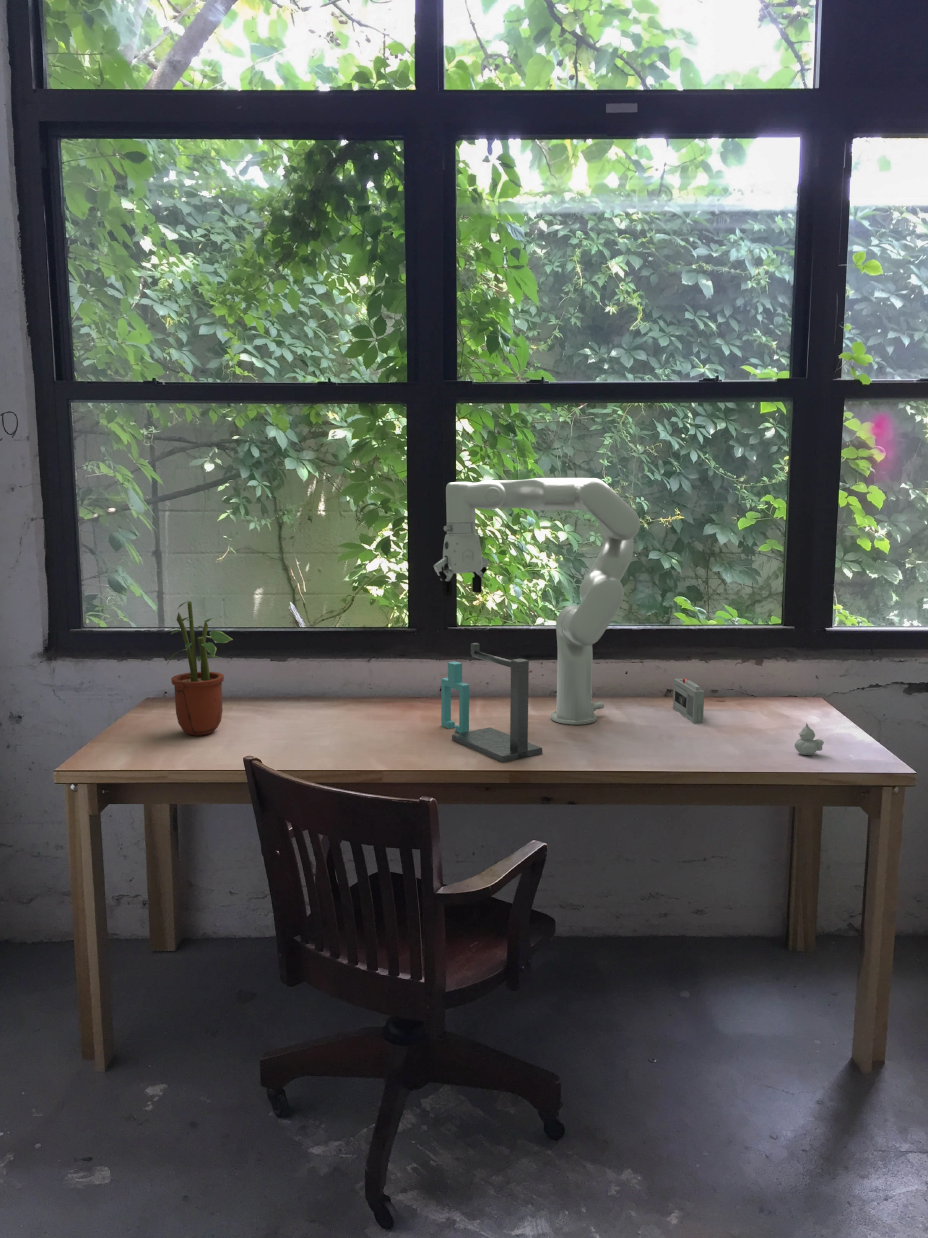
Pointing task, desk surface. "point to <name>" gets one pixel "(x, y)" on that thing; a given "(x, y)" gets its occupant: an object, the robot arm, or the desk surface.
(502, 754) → the hook stand
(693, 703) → the cassette player
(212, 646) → the potted plant
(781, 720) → the desk surface
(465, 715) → the teal link
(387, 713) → the desk surface
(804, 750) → the rubber duck
